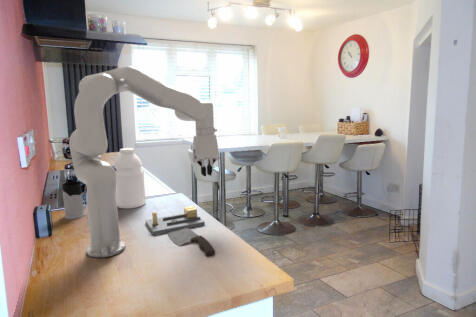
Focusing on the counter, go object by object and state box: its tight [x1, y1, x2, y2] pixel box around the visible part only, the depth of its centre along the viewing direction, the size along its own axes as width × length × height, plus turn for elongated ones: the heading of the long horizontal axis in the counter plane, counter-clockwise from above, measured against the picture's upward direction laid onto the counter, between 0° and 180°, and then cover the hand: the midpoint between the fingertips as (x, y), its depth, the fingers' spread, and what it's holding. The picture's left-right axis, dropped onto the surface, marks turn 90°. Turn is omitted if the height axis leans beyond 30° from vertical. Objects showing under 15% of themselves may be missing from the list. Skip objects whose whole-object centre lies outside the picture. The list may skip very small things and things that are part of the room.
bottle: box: [113, 147, 146, 209], centre depth 171 cm, size 14×14×28 cm
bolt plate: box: [145, 211, 206, 236], centre depth 144 cm, size 14×21×6 cm, turn 116°
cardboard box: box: [183, 205, 198, 219], centre depth 147 cm, size 5×4×4 cm
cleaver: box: [166, 227, 216, 257], centre depth 127 cm, size 29×10×2 cm, turn 33°
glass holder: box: [61, 181, 87, 220], centre depth 159 cm, size 9×14×15 cm, turn 130°
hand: (206, 175), depth 148 cm, fingers closed
